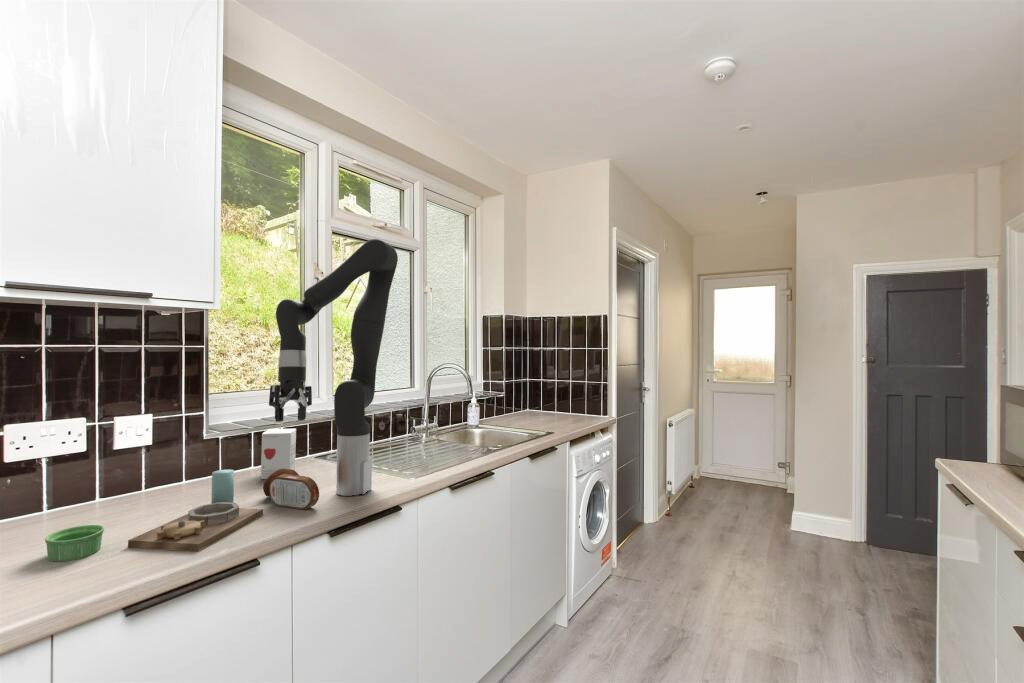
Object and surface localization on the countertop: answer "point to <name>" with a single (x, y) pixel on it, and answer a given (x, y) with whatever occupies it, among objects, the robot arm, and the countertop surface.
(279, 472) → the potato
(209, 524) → the board
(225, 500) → the light blue cylinder
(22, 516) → the countertop surface
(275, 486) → the tin
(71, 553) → the ramekin
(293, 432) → the supplement box
